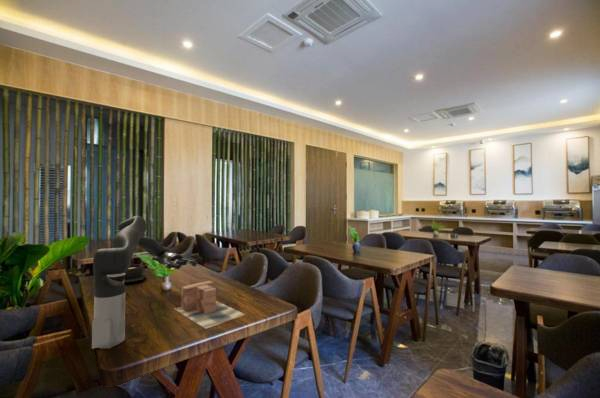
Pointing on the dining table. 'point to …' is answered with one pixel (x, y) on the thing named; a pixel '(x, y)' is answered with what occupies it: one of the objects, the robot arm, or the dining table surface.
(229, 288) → the dining table surface
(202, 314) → the board
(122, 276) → the coffee mug
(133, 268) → the casserole
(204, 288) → the T block
